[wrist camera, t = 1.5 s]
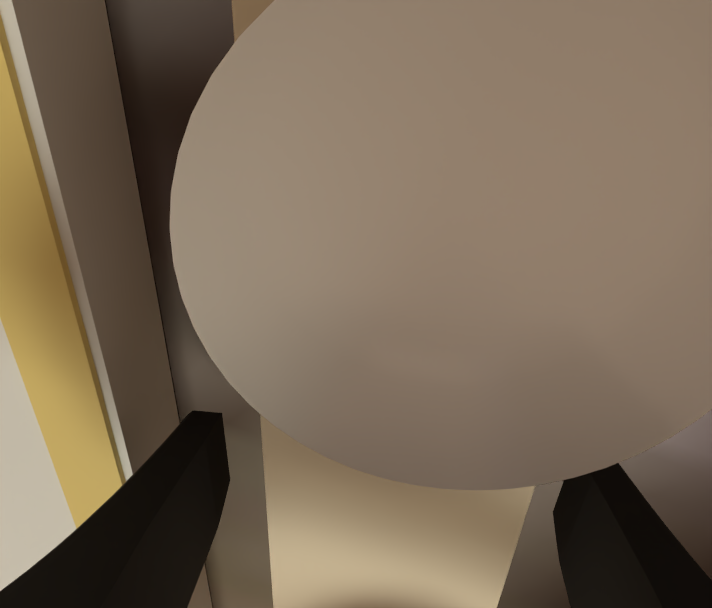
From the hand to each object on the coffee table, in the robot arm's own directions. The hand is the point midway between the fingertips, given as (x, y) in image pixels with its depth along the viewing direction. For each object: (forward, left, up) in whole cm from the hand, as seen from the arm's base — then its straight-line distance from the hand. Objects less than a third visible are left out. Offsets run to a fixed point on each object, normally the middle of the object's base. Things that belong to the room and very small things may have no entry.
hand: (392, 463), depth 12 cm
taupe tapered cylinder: (+7, 0, +1) cm, 7 cm away
